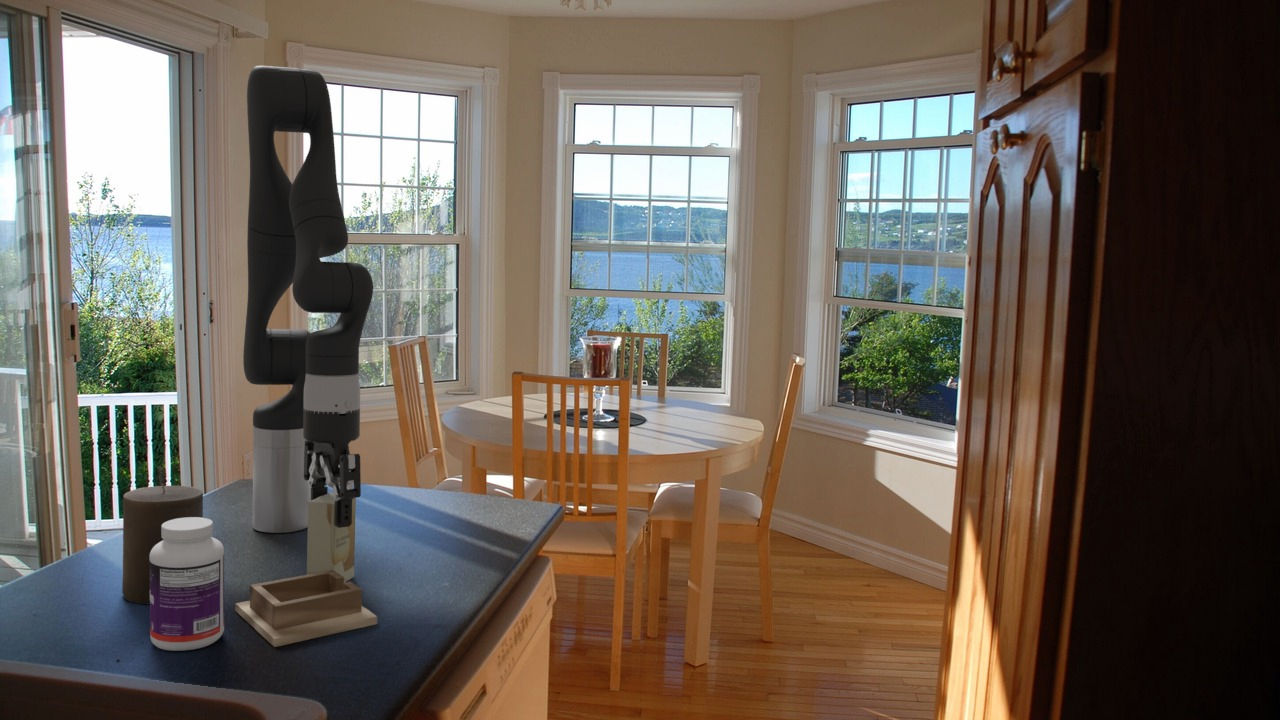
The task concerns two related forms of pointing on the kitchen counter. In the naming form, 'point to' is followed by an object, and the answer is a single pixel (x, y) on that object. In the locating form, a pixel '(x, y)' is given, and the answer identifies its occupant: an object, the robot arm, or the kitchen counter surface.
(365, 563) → the kitchen counter surface
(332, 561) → the skincare box
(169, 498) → the pillar candle
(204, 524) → the pill bottle
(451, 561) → the kitchen counter surface
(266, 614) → the frame
